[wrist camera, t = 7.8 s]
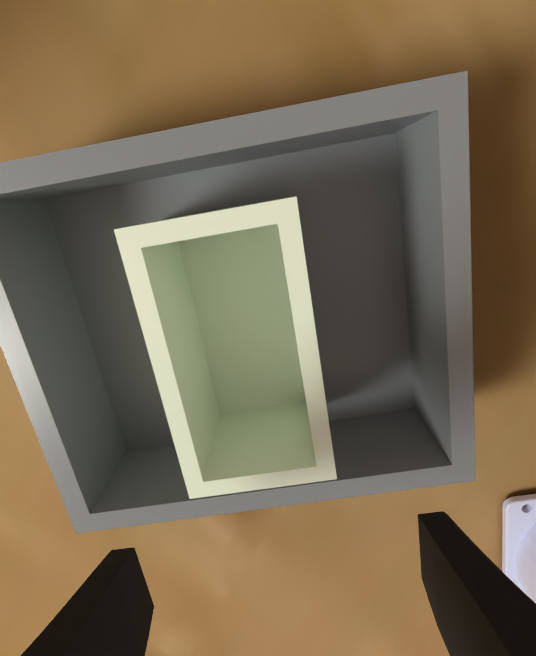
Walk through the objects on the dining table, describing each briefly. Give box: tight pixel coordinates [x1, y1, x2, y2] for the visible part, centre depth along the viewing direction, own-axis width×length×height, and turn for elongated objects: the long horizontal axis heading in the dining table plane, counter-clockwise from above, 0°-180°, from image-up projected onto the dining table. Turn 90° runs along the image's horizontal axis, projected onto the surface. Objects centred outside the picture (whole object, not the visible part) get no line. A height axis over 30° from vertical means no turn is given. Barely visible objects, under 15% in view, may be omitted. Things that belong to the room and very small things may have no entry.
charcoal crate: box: [0, 71, 476, 533], centre depth 15 cm, size 15×13×5 cm
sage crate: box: [114, 197, 337, 499], centre depth 14 cm, size 5×9×5 cm, turn 10°
